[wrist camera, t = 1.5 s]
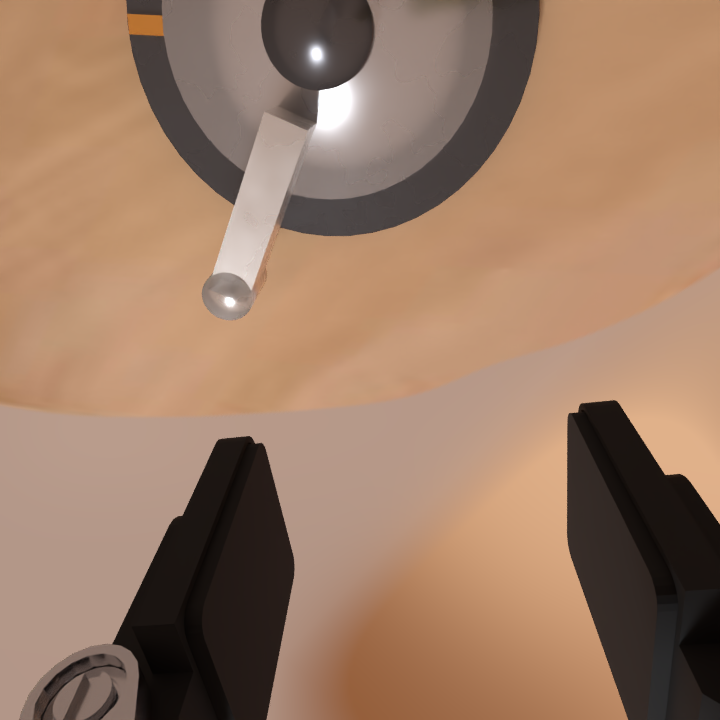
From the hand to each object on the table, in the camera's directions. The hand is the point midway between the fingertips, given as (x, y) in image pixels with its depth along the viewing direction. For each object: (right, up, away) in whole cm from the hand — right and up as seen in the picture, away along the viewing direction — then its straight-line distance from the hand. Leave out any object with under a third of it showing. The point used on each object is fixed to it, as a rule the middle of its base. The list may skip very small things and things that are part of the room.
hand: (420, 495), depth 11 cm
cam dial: (-3, +13, +14) cm, 19 cm away
